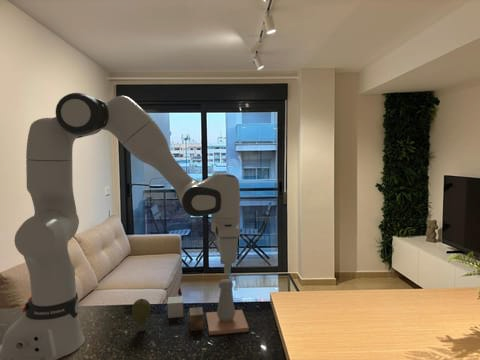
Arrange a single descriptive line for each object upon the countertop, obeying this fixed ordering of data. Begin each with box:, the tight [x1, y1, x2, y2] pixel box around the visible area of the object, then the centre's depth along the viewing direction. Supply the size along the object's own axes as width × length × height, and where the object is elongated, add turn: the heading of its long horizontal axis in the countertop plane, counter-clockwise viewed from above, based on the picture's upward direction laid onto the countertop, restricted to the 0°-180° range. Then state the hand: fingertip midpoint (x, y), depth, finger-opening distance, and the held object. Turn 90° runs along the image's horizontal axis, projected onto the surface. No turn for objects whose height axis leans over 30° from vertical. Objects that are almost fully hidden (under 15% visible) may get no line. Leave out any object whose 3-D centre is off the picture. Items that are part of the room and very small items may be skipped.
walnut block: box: [189, 306, 204, 332], centre depth 112 cm, size 4×5×5 cm
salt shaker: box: [216, 278, 236, 323], centre depth 113 cm, size 6×6×13 cm
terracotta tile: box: [205, 309, 250, 336], centre depth 114 cm, size 12×12×1 cm
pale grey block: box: [167, 295, 184, 319], centre depth 121 cm, size 5×5×5 cm
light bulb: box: [131, 298, 152, 332], centre depth 109 cm, size 6×6×10 cm
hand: (225, 268), depth 112 cm, fingers open, 8 cm apart
